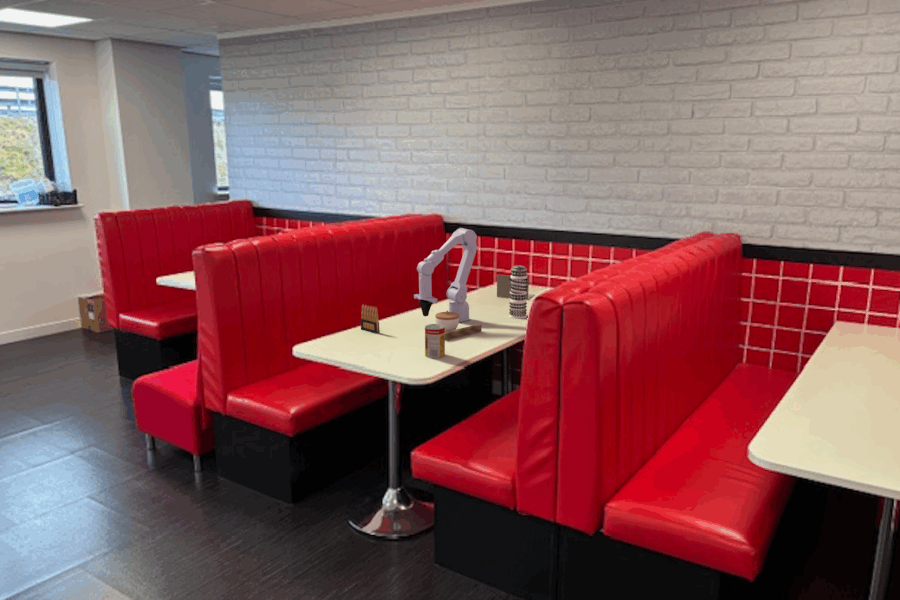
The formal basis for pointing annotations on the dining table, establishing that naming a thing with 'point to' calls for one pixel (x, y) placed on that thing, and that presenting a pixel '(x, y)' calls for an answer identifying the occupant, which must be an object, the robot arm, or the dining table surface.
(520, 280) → the decorative candle
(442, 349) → the canned food
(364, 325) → the ammunition clip
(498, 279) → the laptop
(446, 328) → the lidded jar
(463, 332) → the walnut rail
